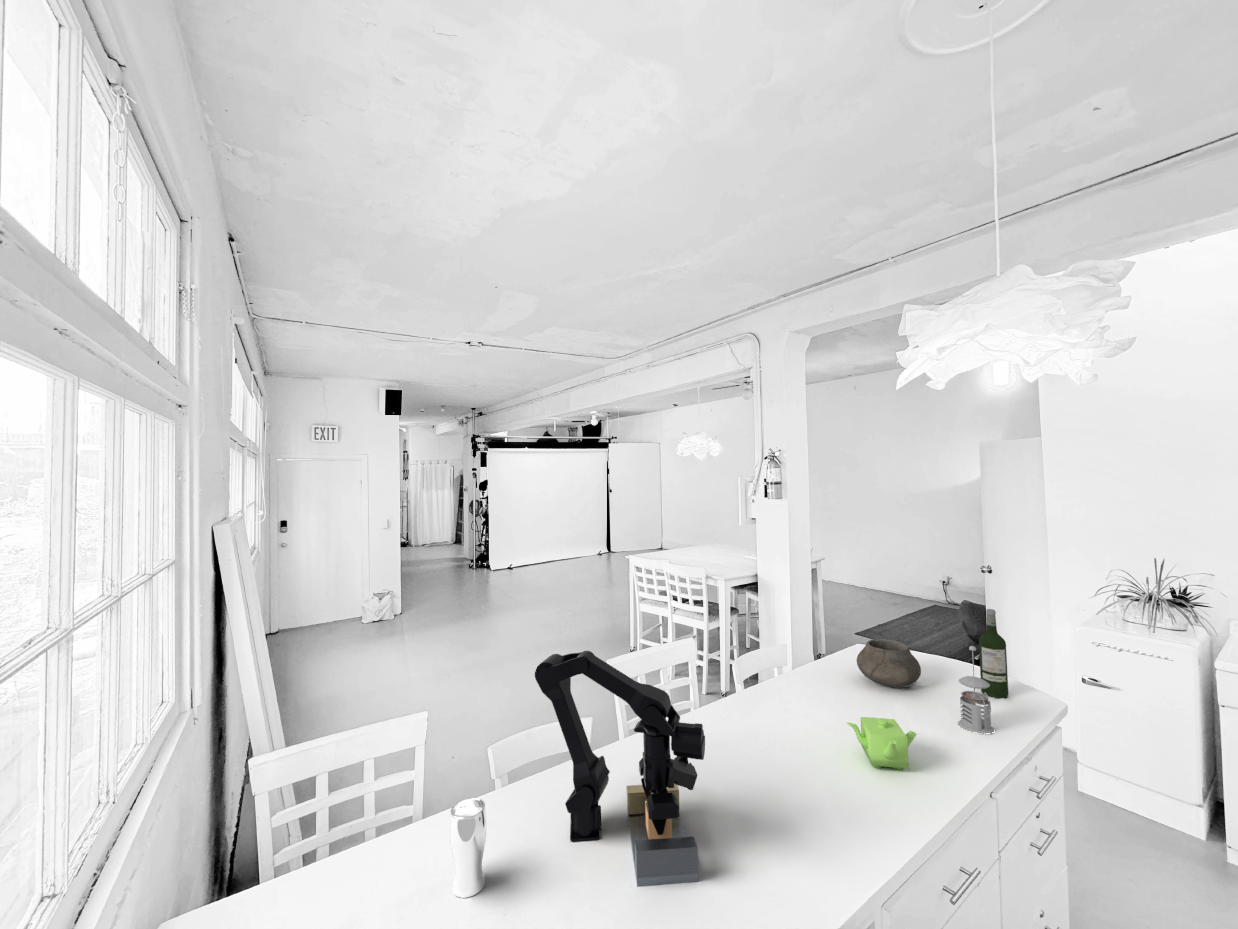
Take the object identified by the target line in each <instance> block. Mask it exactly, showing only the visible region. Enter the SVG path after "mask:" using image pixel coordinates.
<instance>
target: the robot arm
mask: <svg viewBox="0 0 1238 929" xmlns="http://www.w3.org/2000/svg"><path fill="white" fill-rule="evenodd" d="M578 675H584V676H585V677H586V678H588V679H590V680H592V681H593V682H595V683H597V685H600V686H601V687H602V688H604V689H605V690H607V691H609V692H610V693H612V694H613V695H615V696H617V698H620V699H621V700H622V701H624V702H625V703H627V705H628V706H630V708H631V710H632V711H633V712H634V714H635V715H636V716H637V717H638V718H639V719H640V720H639V721H637V723H636V725H635V726H634V729H633V732H634V733H641V734H643V752H642V758H640V760H639V761H638V771H639V775H640V776H639V777H641V778H640V782H641V785H642V787H643V789H644V792H645V795H646V797H647V803H646V807H647V812H648V817H649V819H651V820H652V822H653V824H654V827H655V829H656V831H657V834H658V835H662V834H663V832H664V828H665V824H666V820H667V819H673V818H678V817H679V812H680V804H679V805H678V802H677V798H676V796H675V795H674V794H673V793H668V791H667V787H668V788H674V784H676V785H678V787H679V786H680V787H682V788H686V789H687V790H690V791H693V790H694V788H695V784H696V781H697V778H698V772H697V770H696V768H695V766H694V765H693V764H692V762H689V760H688V759H691V760H693V759H694V760H700V761H703V760H705V753H706V735H705V733H704V732H705V731H704V729H703V728H704V725H703V724H702V723H697V722H695V723H690V722H680V720H681V717H680V715H679V713H678V712H677V710H676V709H675V707H674V706H673V705H672V701H671V698H670V695H669V694H668V692H666V691H665V690H663V689H661V688H659V687H656V686H654V685H651V684H648V683H640V682H638V681H635V680H634V679H633V678H632V677H630V676H628V675H627V674H626V673H623V672H622V671H620V670H619V669H617V668H615V667H614V666H612V665H610V664H609V663H608V662H606V661H604V660H602V659H601V658H600V657H598V656H596V655H595V654H594V653H593V652H592V651H590V650H583V651H581V652H570V653H566V654H564V655H562V654H558V653H553V654H551V655H550V656H548V657H547V658H546V659H544V660H543V661H542V662H540V663H539V664H538V665H537V667H536V669H535V671H534V678H535V680H536V683H537V685H538V687H539V688H540V690H541V693H542V694H544V696H545V697H546V698H548V700H550V701H551V704H552V706H553V710H554V713H555V715H556V719H557V721H558V724H559V726H560V730H561V731H562V732H561V733H562V735H563V739H564V741H565V743H566V747H567V749H568V752H569V756H570V759H571V761H572V766H573V767H572V781H573V787H574V788H573V790H572V792H571V794H570V795H569V797H568V798H567V800H566V802H564V803H565V807H566V811H567V813H569V814H570V827H569V828H570V830H569V831H570V834H569V840H570V842H580V841H581V842H582V841H592V840H599V839H600V838H601V837H600V835H601V834H600V832H602V806H601V805H600V804H599V801H600V799H601V797H602V795H603V794H604V791H605V790H606V789H607V786H608V784H609V780H610V779H609V775H610V773H611V771H610V770H609V769H608V767H607V764H606V759H605V757H604V755H601V756H597V755H596V754H595V753H594V752H593V751H592V748H591V745H590V742H589V740H588V737H587V733H586V730H585V729H584V726H583V725H584V724H583V723H582V720H581V717H580V714H579V711H578V708H577V706H576V703H575V701H574V697H573V695H572V689H571V687H572V686H571V683H572V682H571V680H572V679H571V678H572V677H575V676H578ZM667 718H668V719H667ZM670 737H671V738H670ZM671 751H672V753H673V755H674V756H675V757H674V758H671Z"/></svg>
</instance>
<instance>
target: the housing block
mask: <svg viewBox="0 0 1238 929" xmlns="http://www.w3.org/2000/svg"><path fill="white" fill-rule="evenodd" d="M646 803H647V801H645V814H646V828H647V833H648V839H663V838H672V819H667V820H666V824H665V828H664V832H663V834H662V835H658V834H657V831H656V829H655V827H654V824H653V822H652V820H651V819H649V817H648V812H647V807H646Z"/></svg>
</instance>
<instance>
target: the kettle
mask: <svg viewBox="0 0 1238 929" xmlns="http://www.w3.org/2000/svg"><path fill="white" fill-rule="evenodd" d="M846 724H847V725H848V726H850V727H852V729H853V731H854V732H855V735H856V739H857V742H859V744H860V745H861V747H862V749H863V751H864V753H865V755H866V757H867V759H868V761H869V763H870V765H871V766H872V767H873V768H875V769H881V768H882V767H886V768H894V769H895V770H897V771H903V770H904V769H909V767H910V766H909V747H910V745H911V744H912V742H913V740H914V739H915V738H916V736H917V733H916V732H915V731H913V730H909V731H908V732H907V733H905V732H904V731H903V729H902V728H901V726H900V725H899V723H898V722H897V721H896V720H895V719H894V718H882V717H866V716H863V717H862V716H860V729H859V727H858V725H857V724H856V723H853V722H846Z"/></svg>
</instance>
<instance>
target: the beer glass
mask: <svg viewBox="0 0 1238 929" xmlns="http://www.w3.org/2000/svg"><path fill="white" fill-rule="evenodd" d="M449 817H450V818H449V843H450V844H449V845H450V850H451V857H452V860H453V868H454V877H453V882H452V893H453V894H454V896H456V897H458V898H462V899H466V898H471V897H473V896H476V895H477V894H478V893H480V892H481V891H482V890H483V888H484V886H485V882H486V881H485V879H486V878H485V875H484V870H483V869H484V866H483V861H484V852H485V847H486V846H485V845H486V841H487V840H486V839H487V838H486V837H487V814H486V803H485V801H484V800H483V799H481V798H479V797H467V798H463V799H460V800H459V801H457V802H456V803H455V804H453V805H452V806H451V809H450V815H449Z"/></svg>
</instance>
